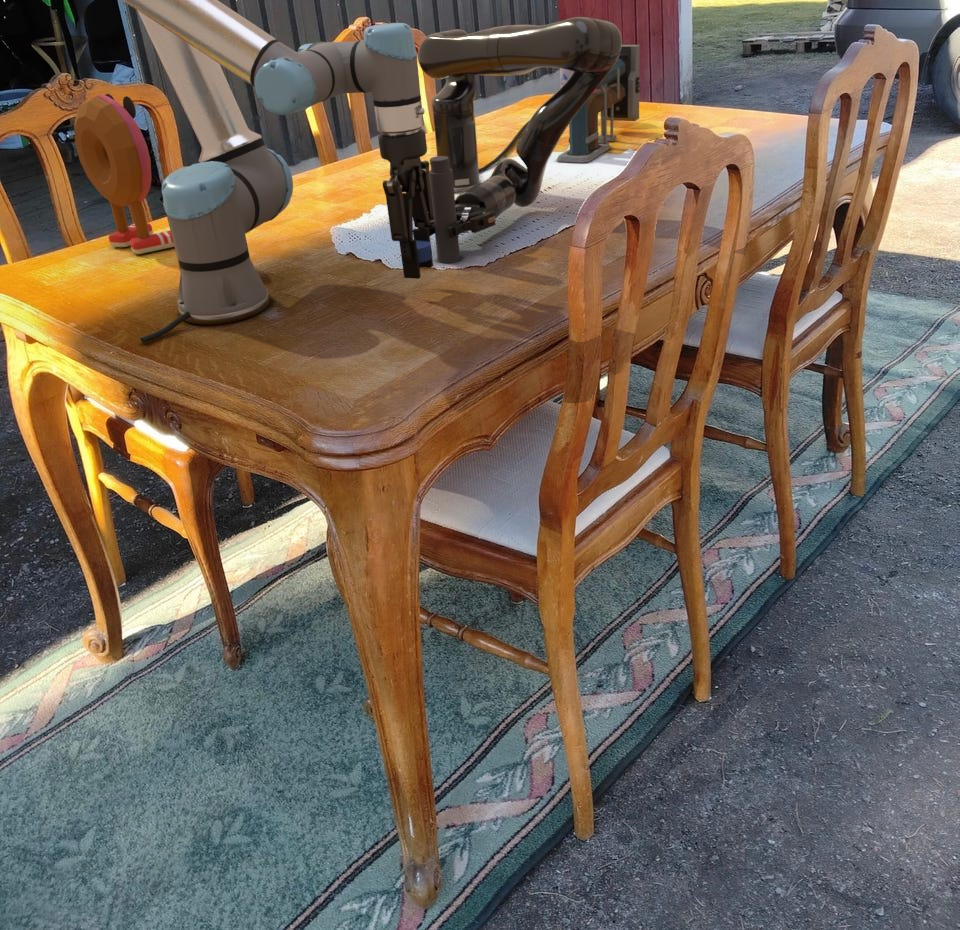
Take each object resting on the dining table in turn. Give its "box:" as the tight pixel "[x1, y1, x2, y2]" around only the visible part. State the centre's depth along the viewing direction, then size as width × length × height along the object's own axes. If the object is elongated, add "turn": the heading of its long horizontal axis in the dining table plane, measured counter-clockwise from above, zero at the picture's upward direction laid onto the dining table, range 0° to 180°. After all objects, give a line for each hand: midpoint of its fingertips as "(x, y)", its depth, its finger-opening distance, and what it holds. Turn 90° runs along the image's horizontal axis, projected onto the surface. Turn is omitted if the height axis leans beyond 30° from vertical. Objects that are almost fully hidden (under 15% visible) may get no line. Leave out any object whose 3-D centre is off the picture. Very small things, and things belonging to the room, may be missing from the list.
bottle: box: [429, 155, 461, 264], centre depth 175 cm, size 4×4×18 cm
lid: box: [416, 240, 433, 263], centre depth 163 cm, size 5×5×2 cm
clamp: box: [556, 44, 641, 164], centre depth 243 cm, size 35×9×21 cm, turn 151°
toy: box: [73, 93, 175, 255], centre depth 194 cm, size 21×10×30 cm, turn 47°
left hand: (418, 271), depth 165 cm, fingers closed on lid, 5 cm apart
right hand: (438, 231), depth 175 cm, fingers closed on bottle, 4 cm apart
